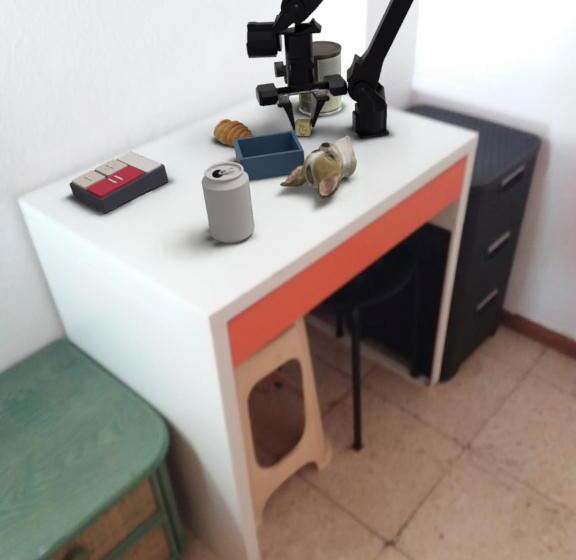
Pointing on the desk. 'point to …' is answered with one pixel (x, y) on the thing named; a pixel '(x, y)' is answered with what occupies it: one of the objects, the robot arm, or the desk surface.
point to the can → (228, 202)
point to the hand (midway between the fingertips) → (303, 128)
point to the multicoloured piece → (118, 181)
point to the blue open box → (269, 154)
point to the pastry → (231, 131)
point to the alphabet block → (302, 127)
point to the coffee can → (324, 64)
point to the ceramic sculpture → (325, 167)
